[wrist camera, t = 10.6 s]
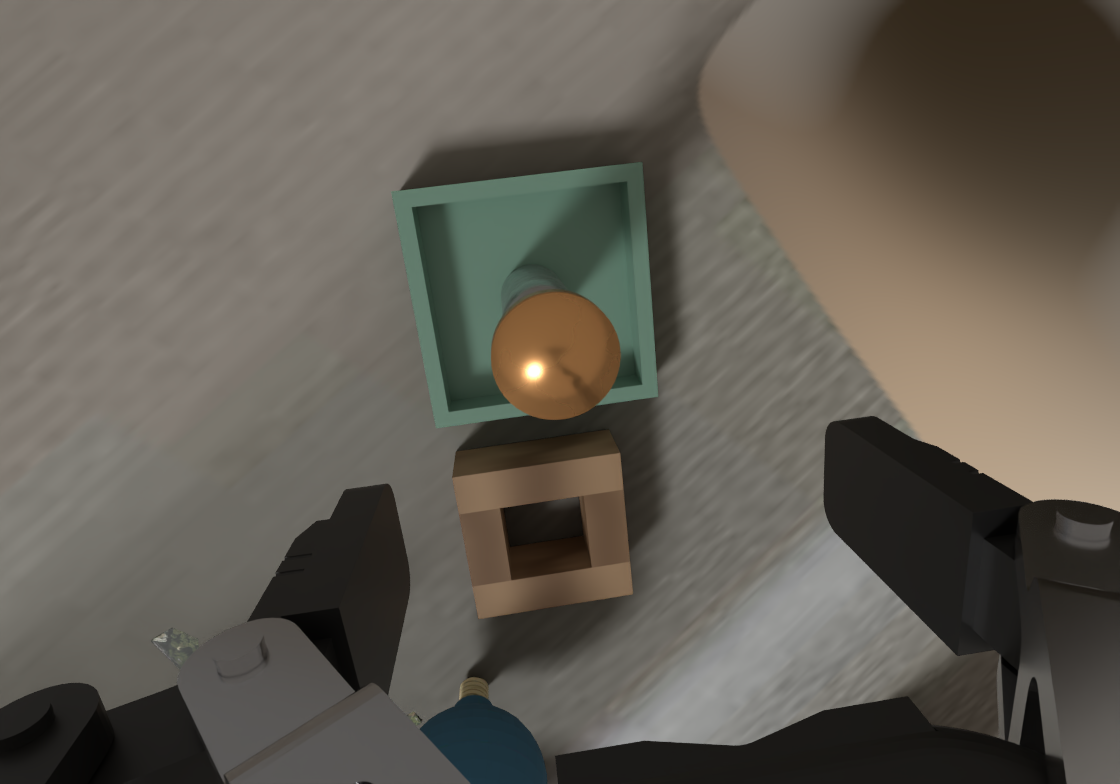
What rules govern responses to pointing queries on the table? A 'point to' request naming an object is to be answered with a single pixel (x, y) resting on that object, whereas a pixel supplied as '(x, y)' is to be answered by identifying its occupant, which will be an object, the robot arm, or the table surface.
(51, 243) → the table surface
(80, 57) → the table surface
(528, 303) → the pin
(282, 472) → the table surface
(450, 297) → the tray
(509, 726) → the light bulb
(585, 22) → the table surface
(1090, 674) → the robot arm
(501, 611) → the socket block
